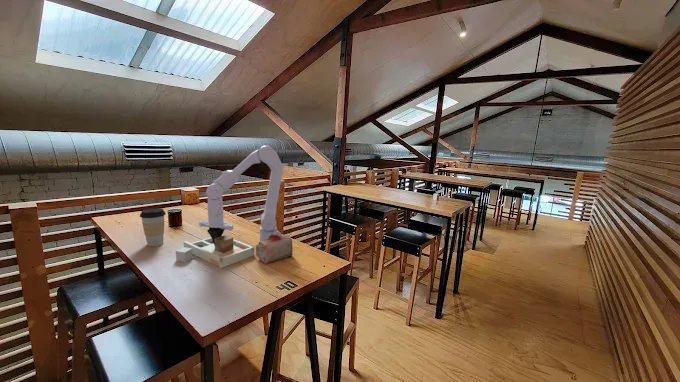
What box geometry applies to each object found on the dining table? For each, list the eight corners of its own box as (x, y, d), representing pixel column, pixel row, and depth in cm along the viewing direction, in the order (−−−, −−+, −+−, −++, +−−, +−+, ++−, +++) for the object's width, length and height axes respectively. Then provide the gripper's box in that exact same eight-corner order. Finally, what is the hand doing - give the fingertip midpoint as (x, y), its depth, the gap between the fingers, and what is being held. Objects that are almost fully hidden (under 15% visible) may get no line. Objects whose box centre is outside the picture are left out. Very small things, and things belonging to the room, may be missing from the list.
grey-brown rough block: (264, 266, 112) (264, 241, 110) (254, 259, 117) (253, 235, 115) (294, 257, 121) (294, 234, 119) (283, 250, 127) (283, 229, 125)
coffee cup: (147, 249, 121) (144, 214, 118) (138, 243, 127) (135, 210, 124) (172, 243, 129) (169, 210, 126) (162, 238, 134) (159, 206, 131)
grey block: (192, 258, 116) (192, 248, 115) (185, 262, 112) (184, 252, 111) (184, 256, 117) (183, 247, 116) (176, 260, 113) (175, 250, 112)
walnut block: (233, 249, 121) (233, 237, 120) (223, 253, 117) (223, 241, 116) (225, 246, 123) (224, 234, 122) (214, 250, 119) (214, 238, 118)
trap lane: (254, 255, 121) (254, 247, 120) (221, 267, 109) (220, 259, 108) (216, 239, 135) (216, 232, 135) (184, 249, 123) (183, 241, 122)
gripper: (237, 212, 121) (238, 243, 124) (206, 208, 125) (208, 239, 127) (226, 217, 115) (227, 249, 117) (194, 212, 118) (196, 245, 121)
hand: (216, 244), depth 122 cm, fingers closed
